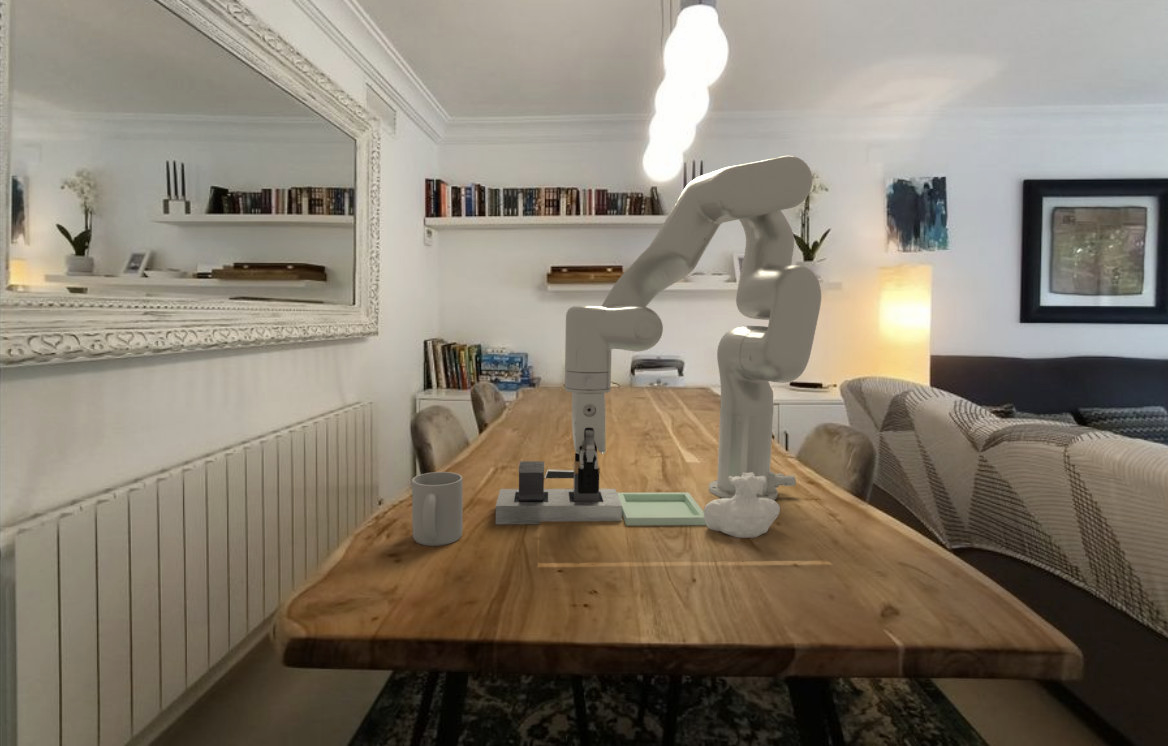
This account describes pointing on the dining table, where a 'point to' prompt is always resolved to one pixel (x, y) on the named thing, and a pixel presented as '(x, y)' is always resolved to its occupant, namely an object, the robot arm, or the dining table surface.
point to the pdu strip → (551, 501)
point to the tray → (660, 509)
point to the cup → (437, 508)
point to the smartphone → (559, 474)
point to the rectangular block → (577, 496)
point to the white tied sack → (742, 509)
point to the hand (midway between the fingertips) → (585, 484)
